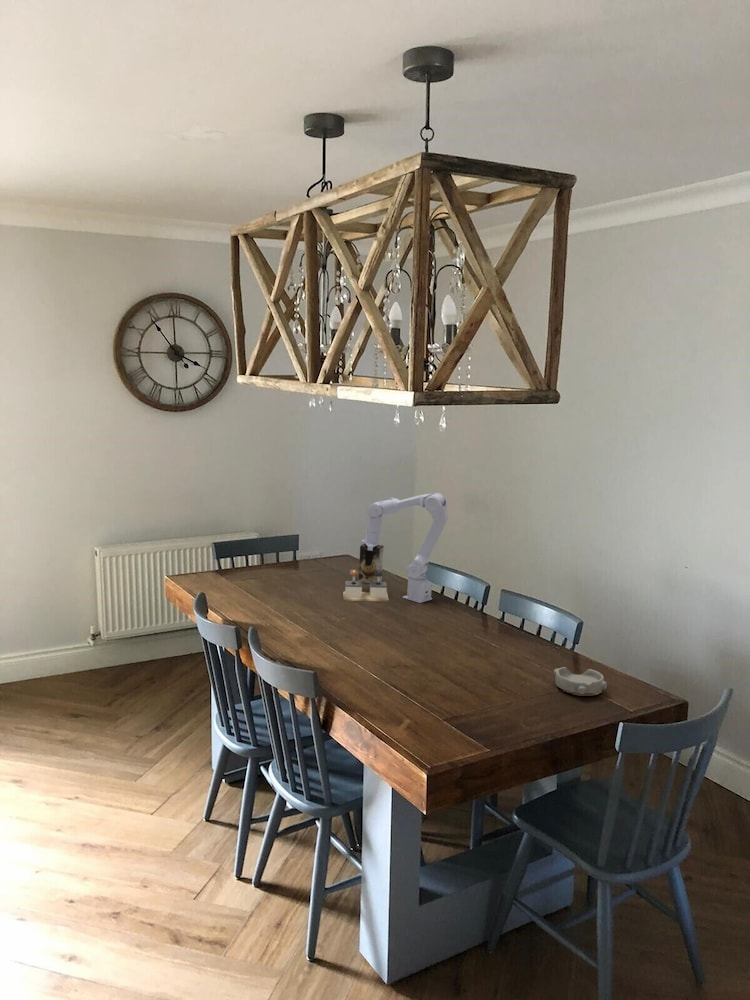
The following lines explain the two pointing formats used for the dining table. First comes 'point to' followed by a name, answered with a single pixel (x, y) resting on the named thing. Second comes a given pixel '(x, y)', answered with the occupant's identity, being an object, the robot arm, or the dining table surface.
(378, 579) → the plunger
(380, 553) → the coffee box
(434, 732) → the dining table surface
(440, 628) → the dining table surface
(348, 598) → the serving board
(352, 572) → the plunger
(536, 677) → the dining table surface
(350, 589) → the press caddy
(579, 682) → the dish
